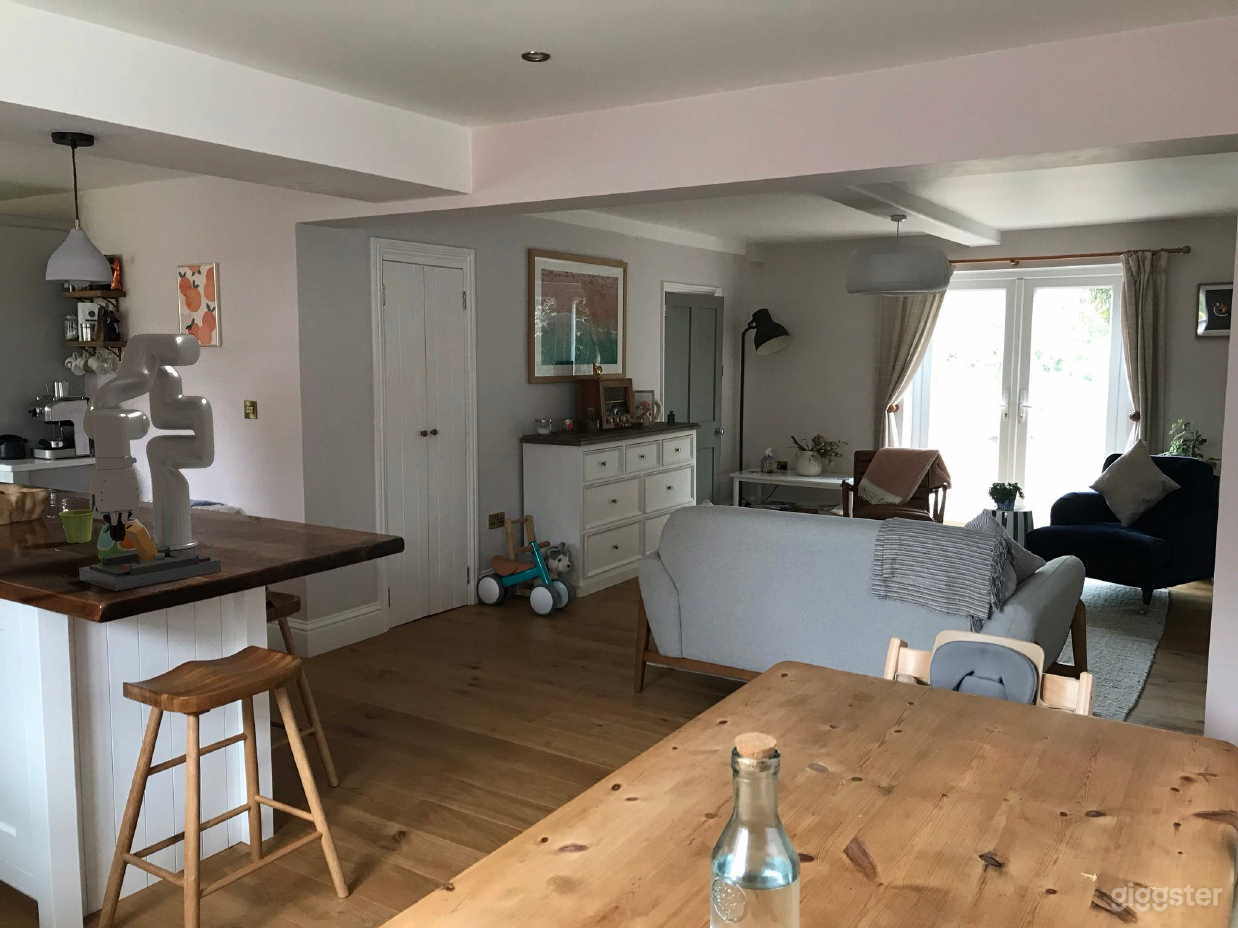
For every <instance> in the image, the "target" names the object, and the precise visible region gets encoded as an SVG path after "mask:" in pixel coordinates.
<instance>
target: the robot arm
mask: <svg viewBox="0 0 1238 928" xmlns="http://www.w3.org/2000/svg"><path fill="white" fill-rule="evenodd" d="M200 355H201V344H200V342H199V340H198V338H197V337H196V336H195V335H193V334H191V333H139V334H136V335H133V336H131V337H130V338H129V339H128V341H127V342H126V345H125V349H124V352H123V354H122V359H121V362H120V365H119V367H118V372H117V375H116V376H114V377H113V378H110V379H109V380H108V381H106V382H105V383H104V384H102V385H101V386H99V387H98V388H97V389H96V390H95V391H94V392H93V393H92V395H91V396H90V398H89V400H88V402H87V406H86V407H85V412H84V416H83V421H82V425H83V426H82V428H83V431H84V434H85V435H86V436H87V438H89V439H91V440H93V442H94V443H93V444H94V457H95V470H92V471H91V477H90V482H89V510H92V511H93V514H92V517H93V519H95V520H96V519H97V520H103V521H105V522H106V524H109V529H110V537H111V538H112V540H113V541H117V542H118V541H124V540H125V538H124V536H126V531H125V524H126V523H127V520H128V519H129V518H132V516H135V515H138V514H140V513H141V508H140V505H141V497H140V495H141V493H140V488H139V487H140V486H139V481H138V477H137V475H136V470H135V468H132V467H133V464H136V463H137V462H138V461H137V459H138V458H136V457H133V456H132V455H131V454H132V453H131V441H137V440H141V439H143V438H144V437H146V435H148V433H149V431H150V428H151V425H152V426H153V427H154V428H155V429H156V430H157V429H158V430H163V431H166V430H167V431H193V433H194V434H162V435H156V436H153V437H151V438H150V439H149V440H148V441H147V443H146V448H145V451H146V453H145V454H146V458H147V463H148V466H149V471H150V473H149V474H150V479H151V481H150V482H151V492H152V493H151V494H152V495H151V496H152V511H153V512H152V515H153V517H152V518H153V530H154V531H153V532H152V536H153V537H154V541H152V542H153V544H154V546H155V548H157V547H164V546H168V547H170V551H180V550H185V549H190V548H194V547H196V546H198V543H199V540H197V539H195V538H192V517H191V516H192V515H191V499H190V497H191V496H190V485H189V482H188V479H187V477H186V476H185V475H184V474H183V473H182V472H181V471H180V470H187V469H188V470H190V469H192V470H195V469H207V468H210V467H211V466H212V465H213V463H214V461H215V454H216V453H215V436H214V435H215V434H214V433H215V432H214V416H213V415H214V414H213V409H212V405H211V402H210V400H208V399H207V398H206V397H205V396H199V395H184V392H183V379H182V376H181V374H180V373H179V372H178V370H177V368H175V367H187V366H188V367H189V366H194V365H195V364H196V363H198V361H199V359H200ZM146 394H148V397H149V415H150V419H149V416H148V415H147V414H146V412H144V411H143V410H140V409H135V408H134V409H133V408H130V409H129V408H127V409H125V408H124V409H123V408H121V409H120V408H113V407H115V406H117V405H119V404H121V403H124V402H128V401H130V400H134V399H136V398H139V397H142V396H144V395H146Z"/></svg>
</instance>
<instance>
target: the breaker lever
mask: <svg viewBox="0 0 1238 928" xmlns="http://www.w3.org/2000/svg"><path fill="white" fill-rule="evenodd" d="M144 527H145V526H144ZM144 527H141V526H136V525H133V526H132V527H130V528H128V529H127V530H125V531H126V533H127V534H128V536H129V538H130V540H131V541H132V543H133V545H134V547H135V549H136V550H137V552H138V554H139V556H140V557H141V559H142V561H145V562H153V554H158V551H157V550H156V548H155V546H154V544H153V542H154V541H153V540H152V539H151V536H150V534H149V535H148V533H149V532H148V533H147V531H148V530H147V529H146V530H147V531H146V530H145V528H146V527H145V528H144ZM149 536H150V537H149Z"/></svg>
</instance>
